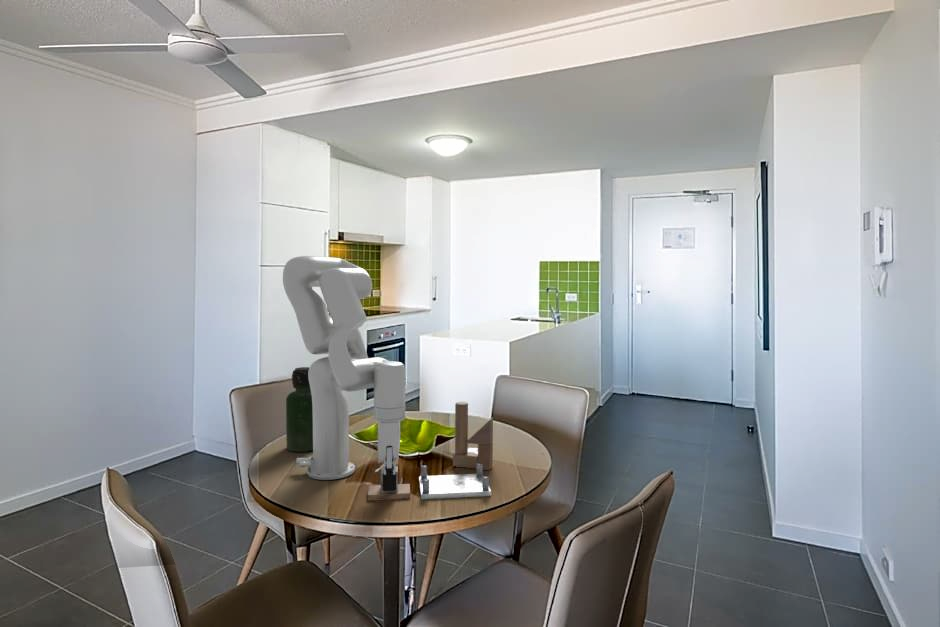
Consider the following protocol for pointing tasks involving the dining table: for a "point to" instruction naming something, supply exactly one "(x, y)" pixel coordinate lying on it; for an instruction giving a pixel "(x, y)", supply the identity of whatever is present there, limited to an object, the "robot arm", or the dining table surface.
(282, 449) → the dining table surface
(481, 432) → the wooden block
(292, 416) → the green bottle
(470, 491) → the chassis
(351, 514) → the dining table surface
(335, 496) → the dining table surface
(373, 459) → the dining table surface
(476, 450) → the butcher knife
